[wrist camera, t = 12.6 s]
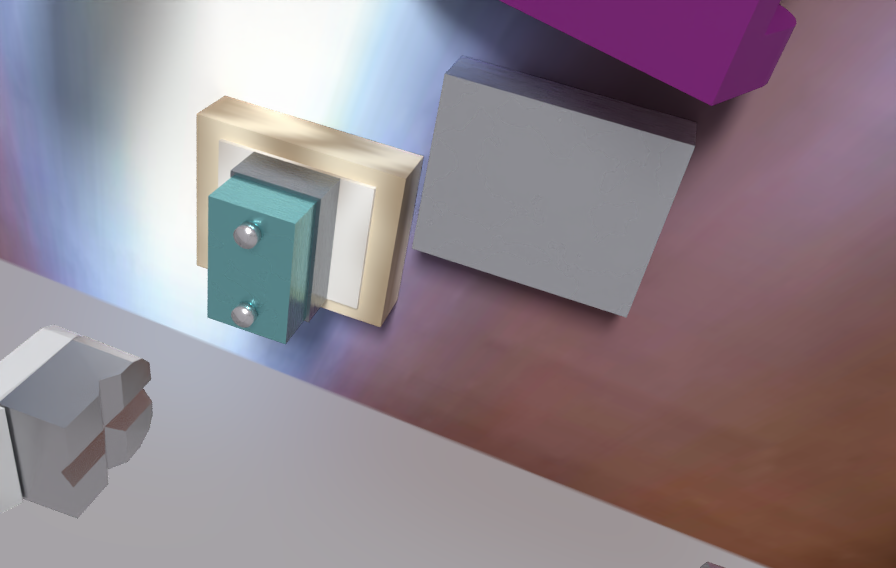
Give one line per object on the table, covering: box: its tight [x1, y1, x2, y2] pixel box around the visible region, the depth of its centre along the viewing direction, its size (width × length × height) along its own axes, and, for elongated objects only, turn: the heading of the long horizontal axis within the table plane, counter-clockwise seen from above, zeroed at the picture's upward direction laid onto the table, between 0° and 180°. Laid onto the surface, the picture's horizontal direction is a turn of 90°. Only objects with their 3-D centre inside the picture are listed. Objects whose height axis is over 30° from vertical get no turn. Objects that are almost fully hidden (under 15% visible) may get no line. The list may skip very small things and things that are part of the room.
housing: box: [208, 152, 340, 344], centre depth 42 cm, size 5×8×6 cm, turn 169°
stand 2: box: [412, 56, 697, 318], centre depth 41 cm, size 12×10×3 cm
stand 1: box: [197, 96, 424, 327], centre depth 46 cm, size 12×10×3 cm
